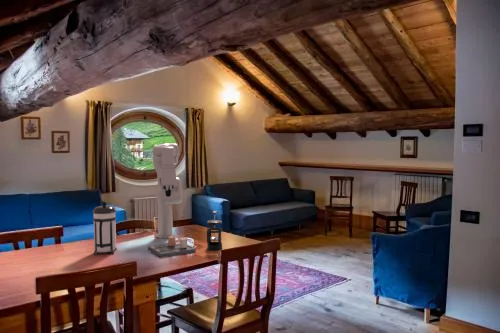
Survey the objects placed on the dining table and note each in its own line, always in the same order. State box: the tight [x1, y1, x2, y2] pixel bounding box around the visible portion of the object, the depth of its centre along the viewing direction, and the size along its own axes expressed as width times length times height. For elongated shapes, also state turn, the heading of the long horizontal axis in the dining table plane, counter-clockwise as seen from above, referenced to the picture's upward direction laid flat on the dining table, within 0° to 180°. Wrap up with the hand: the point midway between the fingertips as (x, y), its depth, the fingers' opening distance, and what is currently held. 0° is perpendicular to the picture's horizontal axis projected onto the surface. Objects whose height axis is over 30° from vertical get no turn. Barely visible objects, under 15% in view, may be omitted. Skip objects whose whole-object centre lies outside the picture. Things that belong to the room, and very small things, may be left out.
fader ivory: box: [179, 237, 188, 248], centre depth 254 cm, size 4×3×5 cm
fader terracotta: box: [167, 236, 177, 246], centre depth 258 cm, size 4×3×5 cm
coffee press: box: [92, 201, 118, 256], centre depth 249 cm, size 17×16×30 cm
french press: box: [206, 210, 223, 252], centre depth 259 cm, size 12×9×23 cm
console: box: [147, 243, 197, 259], centre depth 254 cm, size 20×22×3 cm
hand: (168, 196), depth 265 cm, fingers closed
